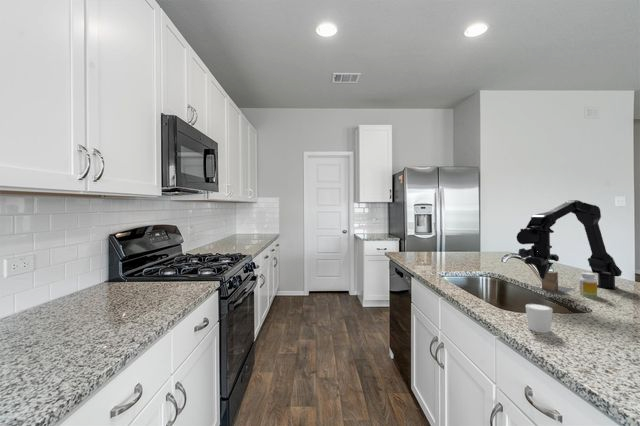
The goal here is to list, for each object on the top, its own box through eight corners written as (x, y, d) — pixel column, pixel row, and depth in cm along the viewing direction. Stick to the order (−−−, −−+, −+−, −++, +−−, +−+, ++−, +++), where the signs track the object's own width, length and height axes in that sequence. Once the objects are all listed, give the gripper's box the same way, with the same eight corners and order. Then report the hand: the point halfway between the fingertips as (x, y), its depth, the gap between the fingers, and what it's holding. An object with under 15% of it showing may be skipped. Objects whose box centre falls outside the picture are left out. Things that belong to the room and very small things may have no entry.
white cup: (545, 335, 88) (545, 312, 88) (521, 327, 94) (520, 305, 94) (557, 330, 91) (557, 308, 91) (533, 323, 97) (532, 302, 97)
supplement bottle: (600, 298, 121) (600, 274, 121) (587, 298, 121) (587, 275, 121) (589, 294, 127) (588, 272, 127) (576, 294, 127) (576, 272, 127)
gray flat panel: (544, 284, 145) (544, 283, 145) (575, 289, 135) (575, 288, 135) (531, 288, 137) (531, 288, 137) (562, 294, 127) (562, 293, 127)
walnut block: (546, 287, 137) (546, 270, 137) (558, 289, 134) (557, 272, 134) (542, 289, 135) (541, 271, 135) (553, 291, 131) (553, 273, 131)
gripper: (530, 240, 142) (531, 272, 142) (511, 243, 132) (512, 278, 132) (558, 242, 132) (559, 276, 132) (540, 245, 122) (541, 283, 122)
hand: (542, 278), depth 130 cm, fingers closed
